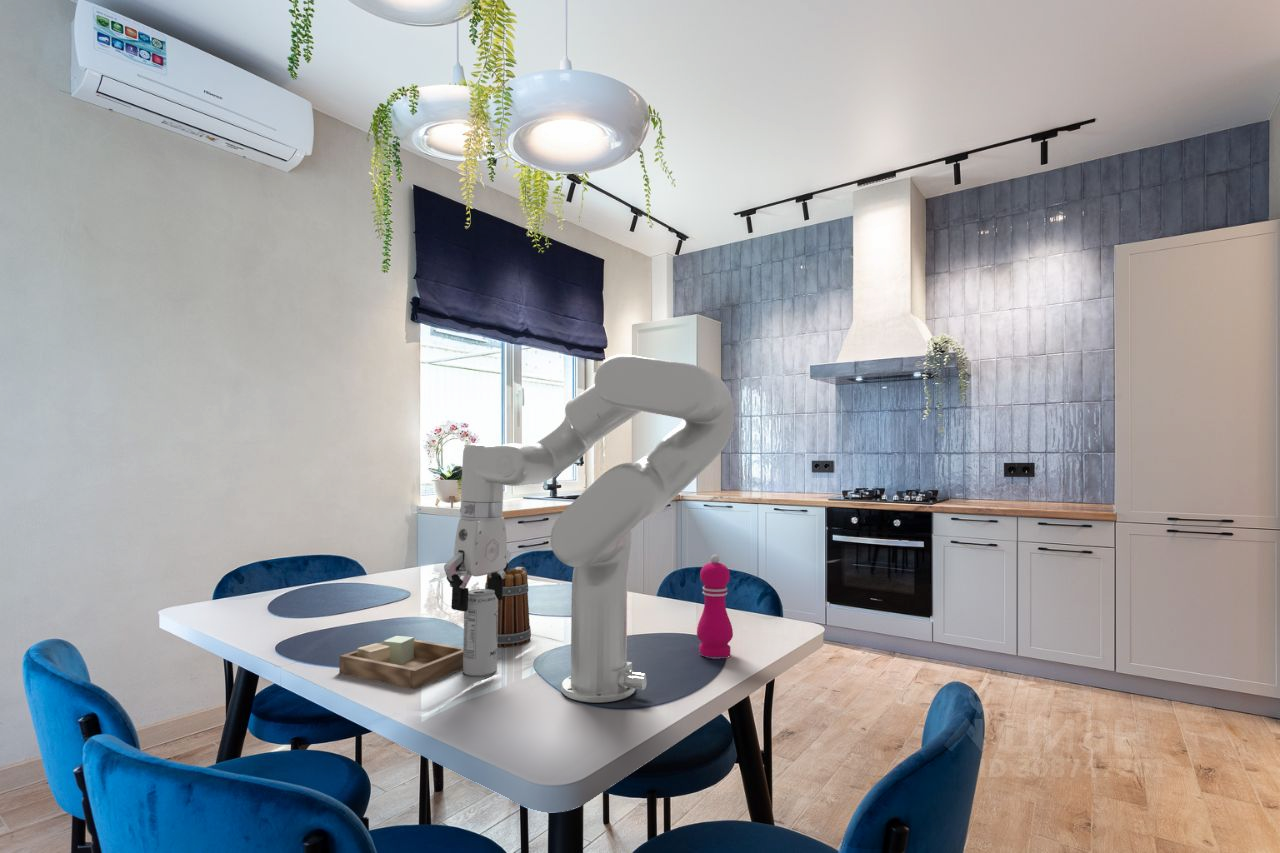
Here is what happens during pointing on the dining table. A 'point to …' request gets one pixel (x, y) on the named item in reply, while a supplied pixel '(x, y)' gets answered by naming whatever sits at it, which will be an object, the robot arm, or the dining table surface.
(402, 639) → the sage block
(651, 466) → the robot arm
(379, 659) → the beech block
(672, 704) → the dining table surface
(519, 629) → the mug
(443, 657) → the tray
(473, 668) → the energy drink can
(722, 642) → the pepper mill
